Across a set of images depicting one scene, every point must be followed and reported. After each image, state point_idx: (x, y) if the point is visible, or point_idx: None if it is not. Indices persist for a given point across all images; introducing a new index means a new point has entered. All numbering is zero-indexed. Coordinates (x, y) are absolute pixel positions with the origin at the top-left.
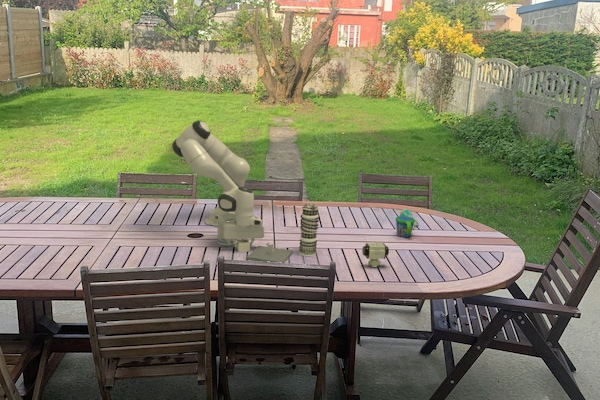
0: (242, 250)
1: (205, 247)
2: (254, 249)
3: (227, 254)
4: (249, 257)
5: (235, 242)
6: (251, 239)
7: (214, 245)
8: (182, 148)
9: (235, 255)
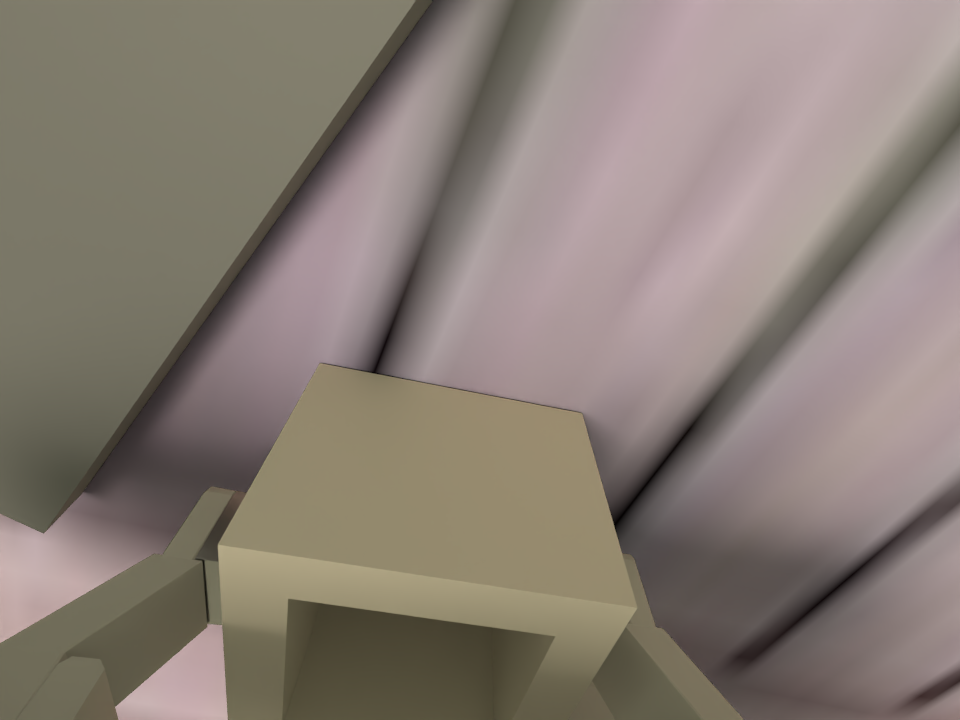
0: (496, 416)
1: (937, 696)
2: (173, 347)
3: (902, 358)
4: None
5: (671, 679)
6: (105, 712)
7: (766, 716)
8: None
9: (786, 232)
